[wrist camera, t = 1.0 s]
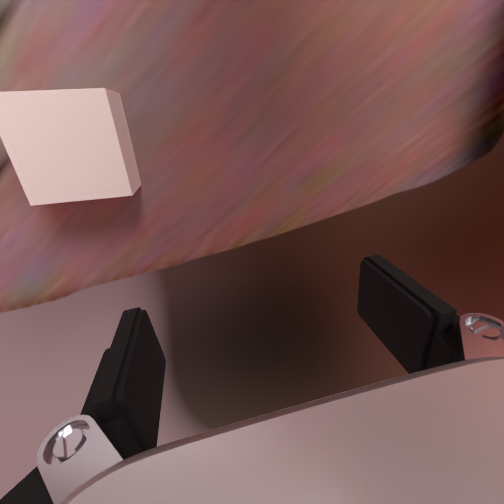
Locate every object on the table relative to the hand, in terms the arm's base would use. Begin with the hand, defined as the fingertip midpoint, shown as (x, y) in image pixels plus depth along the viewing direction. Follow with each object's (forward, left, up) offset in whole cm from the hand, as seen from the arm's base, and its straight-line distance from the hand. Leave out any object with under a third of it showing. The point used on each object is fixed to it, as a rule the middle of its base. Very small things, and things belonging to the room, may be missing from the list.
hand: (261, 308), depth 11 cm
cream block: (-6, -14, -28) cm, 32 cm away
